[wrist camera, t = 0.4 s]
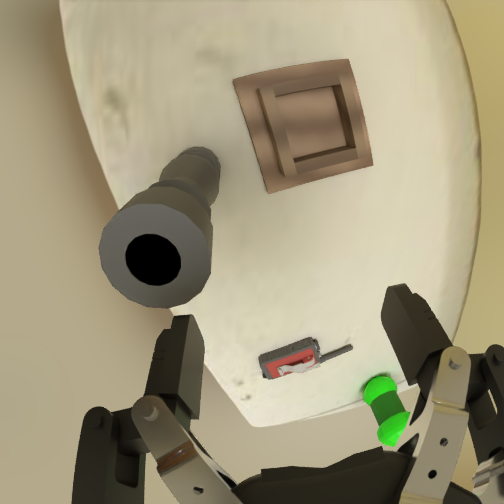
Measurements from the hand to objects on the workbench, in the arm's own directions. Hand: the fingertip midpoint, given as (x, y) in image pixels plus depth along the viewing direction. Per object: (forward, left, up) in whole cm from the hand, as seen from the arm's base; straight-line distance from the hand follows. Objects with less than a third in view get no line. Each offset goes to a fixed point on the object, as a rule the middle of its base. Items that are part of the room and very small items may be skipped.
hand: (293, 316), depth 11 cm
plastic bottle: (+61, +19, -28) cm, 70 cm away
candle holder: (-3, -5, -28) cm, 29 cm away
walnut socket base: (-5, +11, -28) cm, 30 cm away
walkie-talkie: (+37, +2, -29) cm, 47 cm away
